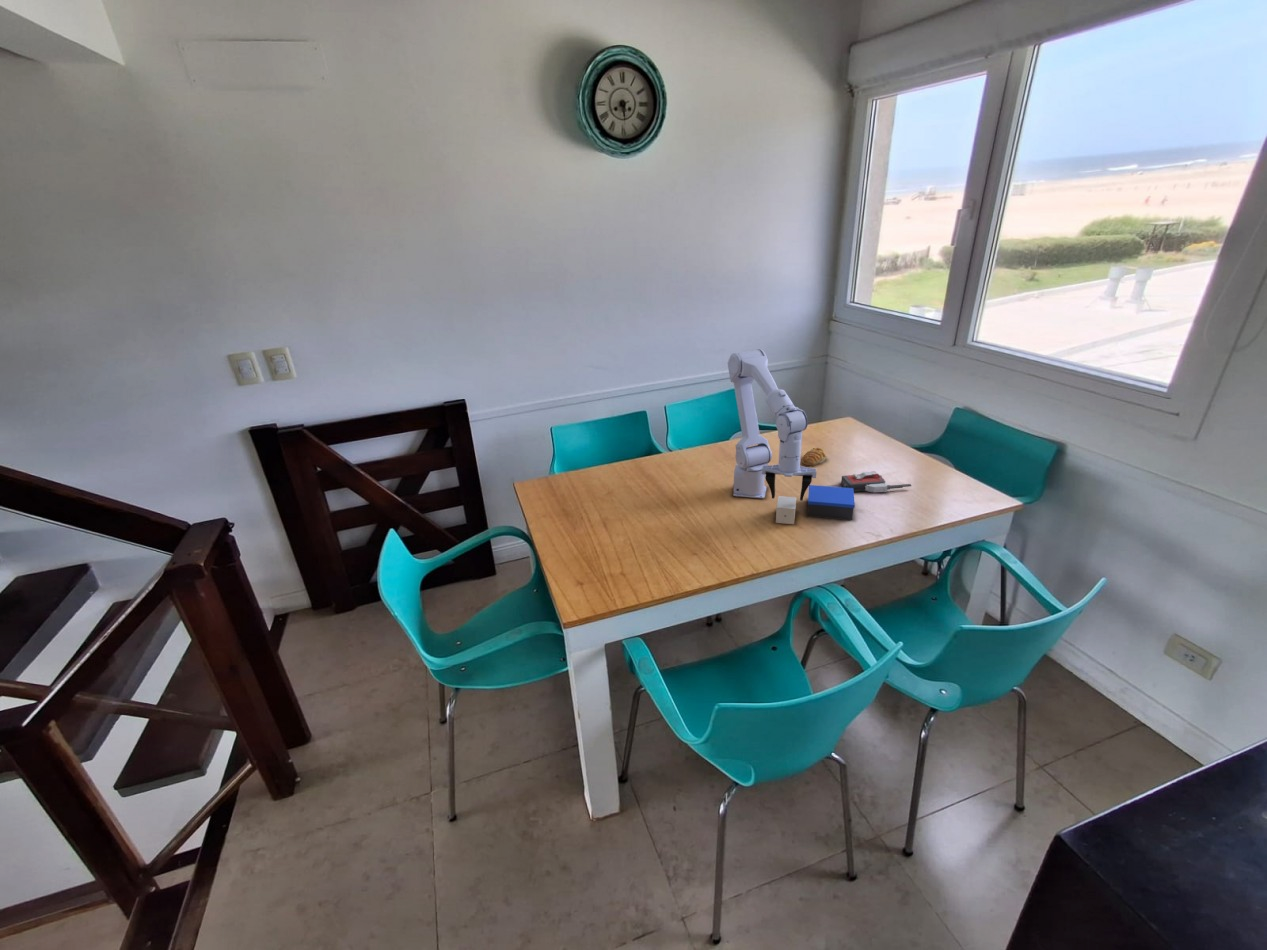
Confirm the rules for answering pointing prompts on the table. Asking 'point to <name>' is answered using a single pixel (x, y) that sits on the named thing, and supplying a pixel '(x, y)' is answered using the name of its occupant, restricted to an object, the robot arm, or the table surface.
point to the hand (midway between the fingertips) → (787, 497)
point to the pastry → (814, 456)
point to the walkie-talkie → (868, 482)
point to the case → (785, 510)
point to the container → (831, 502)
